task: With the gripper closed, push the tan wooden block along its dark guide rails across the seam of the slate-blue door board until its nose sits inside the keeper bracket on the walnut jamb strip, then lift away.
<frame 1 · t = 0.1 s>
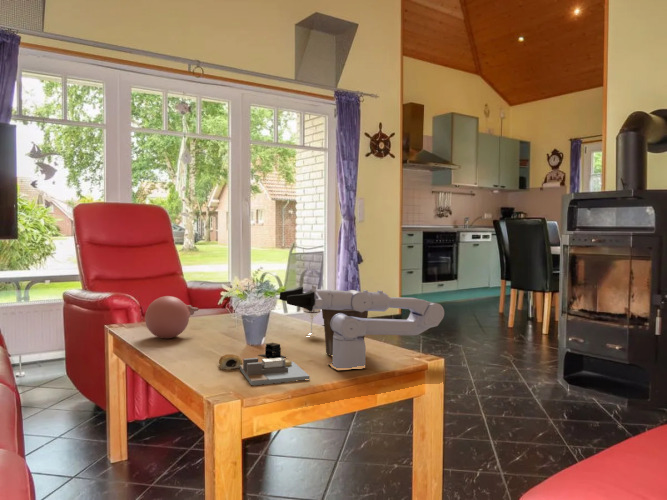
hand: (283, 297, 149), 22 cm above the table, tool horizontal, fingers open, 7 cm apart
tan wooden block: (273, 364, 148), point 3 cm above the table, slide at 0.0 cm
pastry: (229, 367, 157), on the table
plant pot: (344, 354, 173), on the table
door board: (273, 374, 148), on the table
black block: (272, 358, 169), on the table
wineglass: (311, 335, 202), on the table
balloon: (173, 337, 194), on the table
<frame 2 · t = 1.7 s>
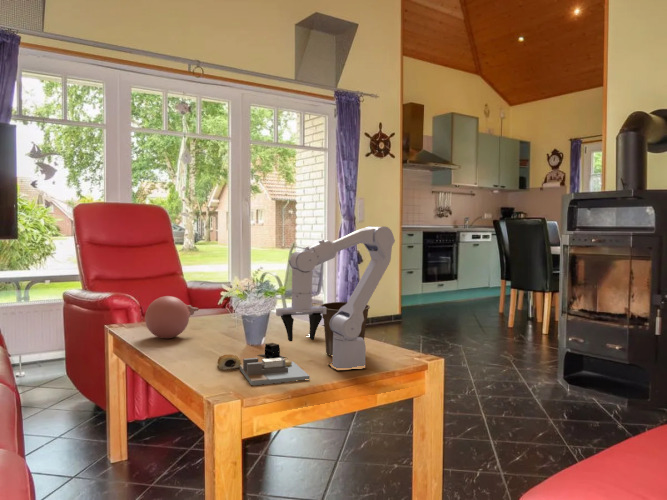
hand: (301, 339, 151), 9 cm above the table, tool pointing down, fingers open, 6 cm apart
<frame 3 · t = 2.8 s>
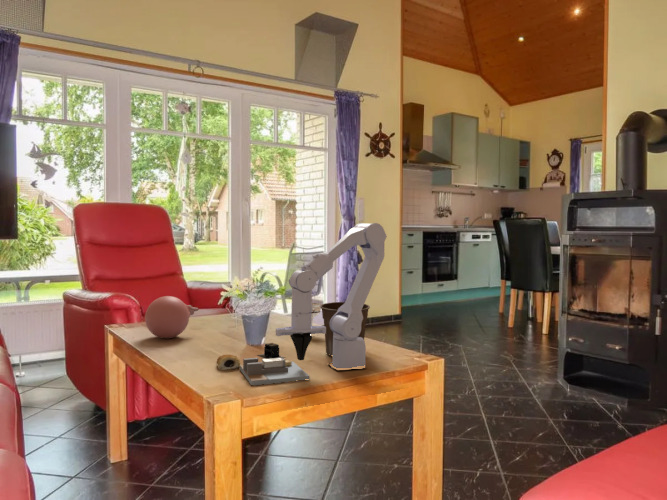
hand: (300, 359, 151), 4 cm above the table, tool pointing down, fingers closed
nothing on the table moved.
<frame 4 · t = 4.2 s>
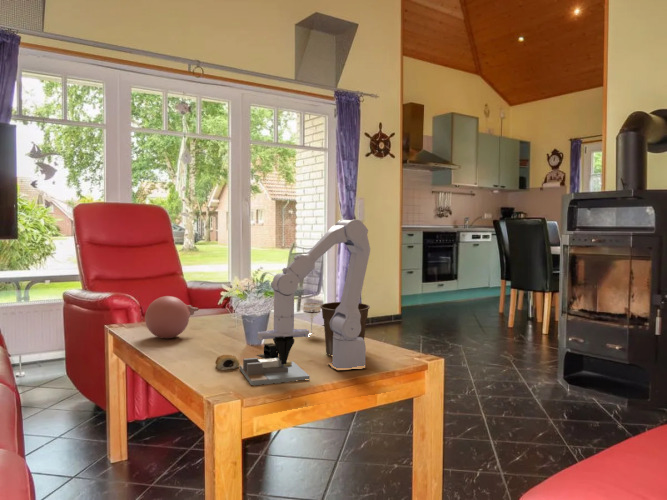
hand: (283, 363, 149), 3 cm above the table, tool pointing down, fingers closed
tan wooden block: (269, 364, 148), point 3 cm above the table, slide at 1.2 cm, touching gripper
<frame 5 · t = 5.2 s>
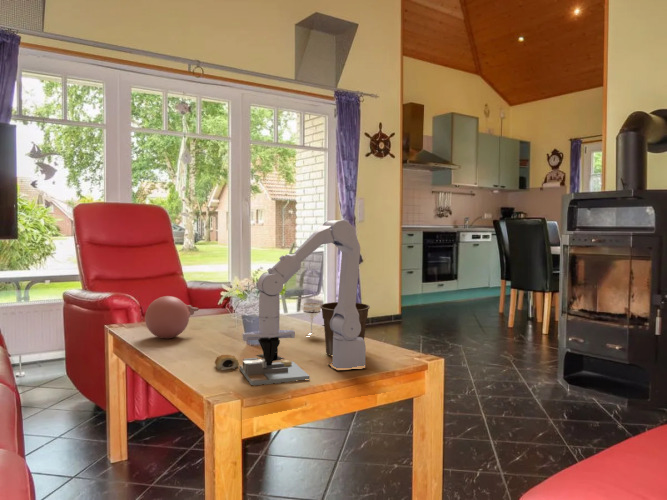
hand: (268, 364, 148), 3 cm above the table, tool pointing down, fingers closed
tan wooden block: (254, 366, 146), point 3 cm above the table, slide at 5.5 cm, touching gripper
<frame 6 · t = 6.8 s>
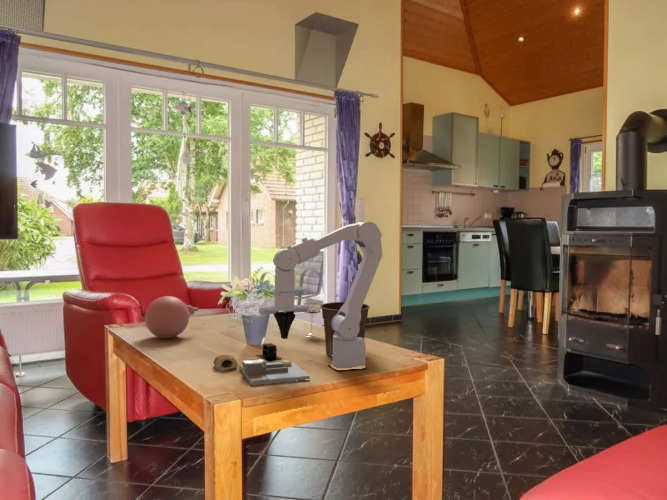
hand: (284, 338, 152), 10 cm above the table, tool pointing down, fingers closed
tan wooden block: (254, 366, 146), point 3 cm above the table, slide at 5.5 cm
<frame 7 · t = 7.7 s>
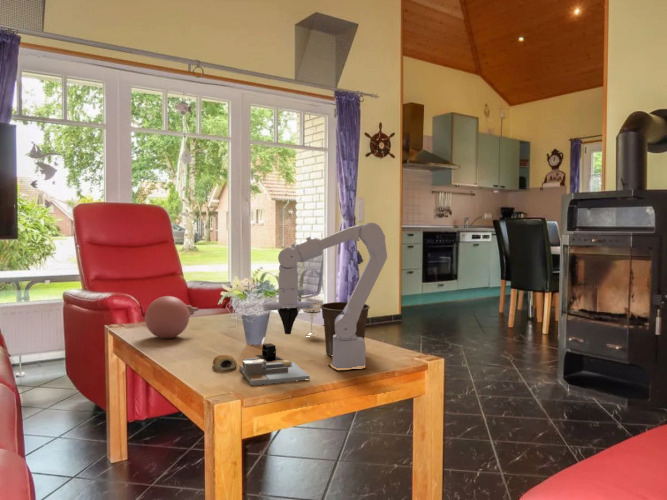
hand: (287, 333, 157), 10 cm above the table, tool pointing down, fingers closed
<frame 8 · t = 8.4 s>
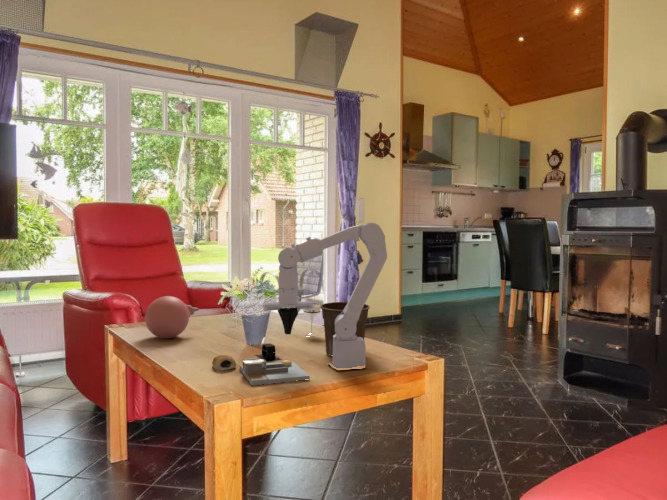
hand: (287, 333, 157), 10 cm above the table, tool pointing down, fingers closed
at the end: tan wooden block slide at 5.5 cm; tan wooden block touching nothing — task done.
